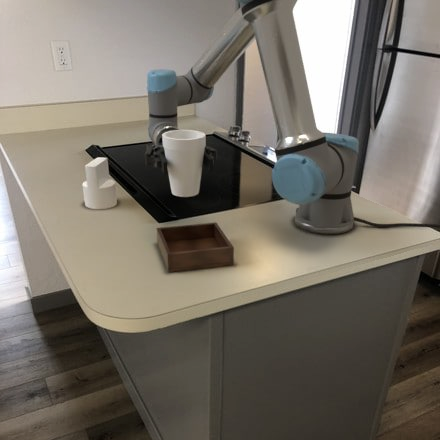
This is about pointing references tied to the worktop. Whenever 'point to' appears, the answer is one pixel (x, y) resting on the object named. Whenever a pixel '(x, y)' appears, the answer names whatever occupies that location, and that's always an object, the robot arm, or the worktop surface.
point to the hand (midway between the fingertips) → (188, 166)
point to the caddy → (194, 247)
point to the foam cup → (184, 160)
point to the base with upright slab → (99, 185)
